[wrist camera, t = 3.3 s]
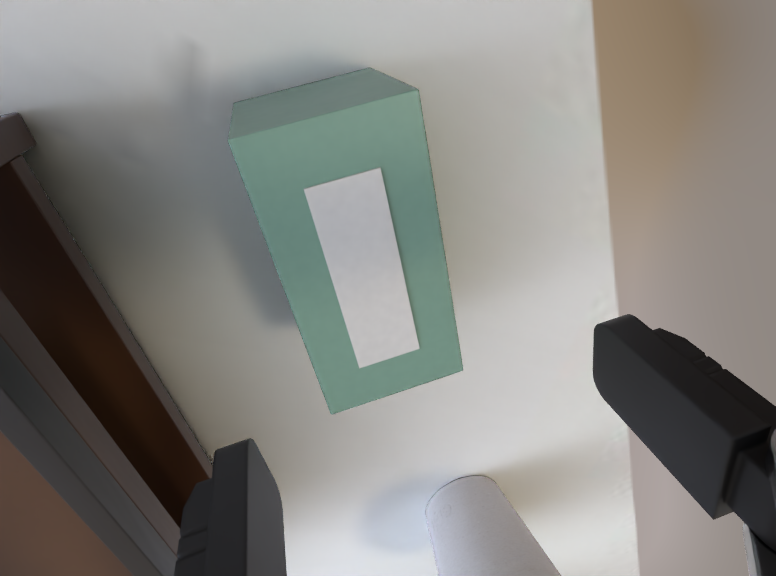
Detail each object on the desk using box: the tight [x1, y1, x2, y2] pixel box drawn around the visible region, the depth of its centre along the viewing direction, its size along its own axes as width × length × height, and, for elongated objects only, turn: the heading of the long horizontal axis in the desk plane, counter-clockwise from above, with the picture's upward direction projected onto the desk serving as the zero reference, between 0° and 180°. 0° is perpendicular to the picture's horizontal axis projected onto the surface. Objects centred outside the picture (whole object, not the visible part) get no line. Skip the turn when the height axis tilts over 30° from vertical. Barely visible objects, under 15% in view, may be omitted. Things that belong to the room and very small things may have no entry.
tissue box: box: [228, 68, 463, 414], centre depth 19 cm, size 6×11×7 cm, turn 12°
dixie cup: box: [426, 476, 561, 576], centre depth 31 cm, size 8×8×10 cm
